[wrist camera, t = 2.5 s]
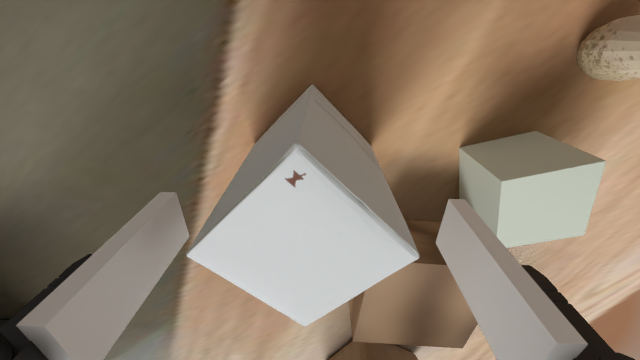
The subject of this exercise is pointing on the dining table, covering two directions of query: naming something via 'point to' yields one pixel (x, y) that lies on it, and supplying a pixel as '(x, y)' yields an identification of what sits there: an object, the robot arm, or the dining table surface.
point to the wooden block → (373, 352)
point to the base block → (415, 301)
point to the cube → (530, 187)
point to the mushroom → (612, 50)
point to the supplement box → (306, 216)
